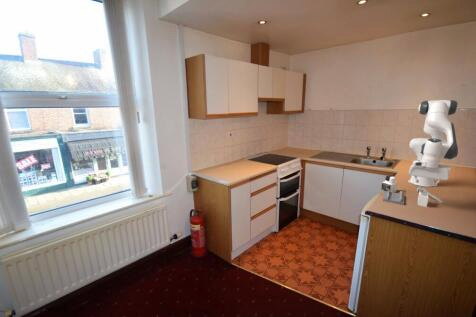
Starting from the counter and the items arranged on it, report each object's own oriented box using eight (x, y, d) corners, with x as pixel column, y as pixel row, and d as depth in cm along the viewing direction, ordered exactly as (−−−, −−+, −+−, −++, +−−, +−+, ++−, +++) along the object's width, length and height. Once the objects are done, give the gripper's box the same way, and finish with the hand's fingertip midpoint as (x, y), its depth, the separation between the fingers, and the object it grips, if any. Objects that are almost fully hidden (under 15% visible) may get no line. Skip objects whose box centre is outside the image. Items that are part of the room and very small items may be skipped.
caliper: (416, 192, 175) (417, 184, 173) (417, 192, 175) (419, 184, 173) (442, 203, 155) (443, 194, 153) (443, 203, 155) (445, 194, 154)
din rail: (387, 191, 172) (388, 189, 171) (401, 193, 167) (401, 191, 166) (386, 199, 158) (386, 196, 157) (401, 202, 153) (401, 199, 152)
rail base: (384, 192, 173) (385, 191, 173) (403, 196, 166) (404, 194, 166) (382, 200, 159) (383, 198, 159) (403, 204, 152) (404, 202, 152)
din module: (417, 201, 158) (419, 191, 156) (425, 202, 155) (427, 192, 154) (417, 205, 152) (419, 195, 150) (426, 207, 149) (428, 196, 147)
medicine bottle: (380, 190, 179) (382, 175, 176) (387, 188, 181) (389, 174, 178) (389, 193, 172) (391, 178, 169) (395, 192, 175) (398, 177, 172)
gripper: (450, 165, 143) (446, 185, 146) (410, 160, 155) (407, 179, 158) (452, 167, 138) (447, 188, 141) (410, 162, 150) (407, 182, 153)
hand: (425, 183), depth 150 cm, fingers open, 8 cm apart
